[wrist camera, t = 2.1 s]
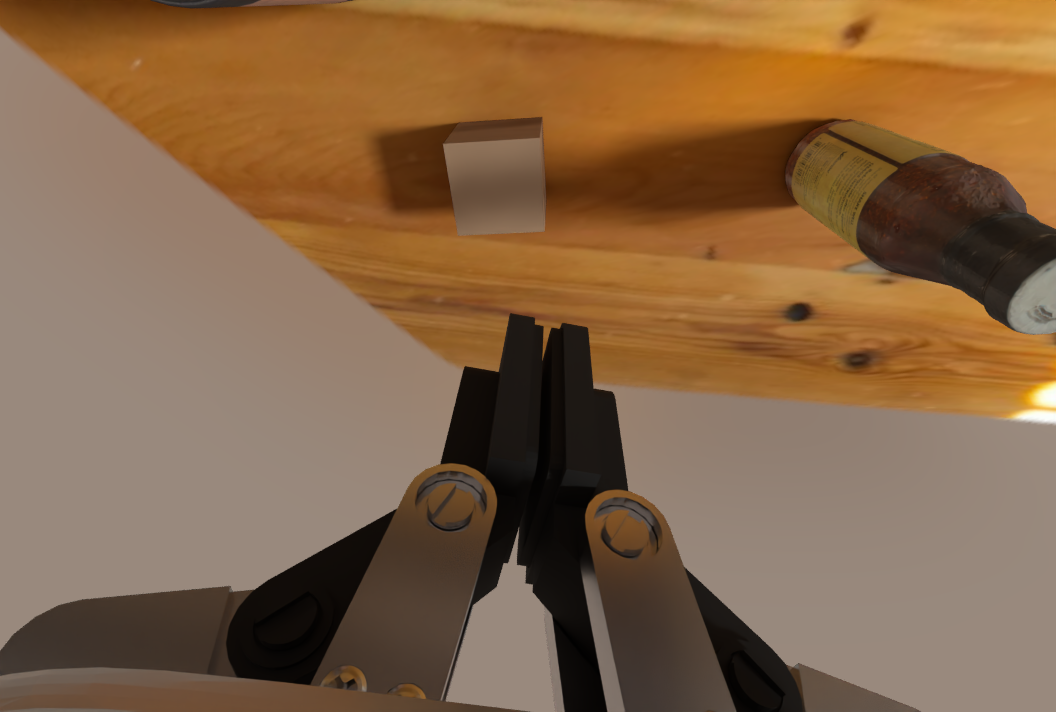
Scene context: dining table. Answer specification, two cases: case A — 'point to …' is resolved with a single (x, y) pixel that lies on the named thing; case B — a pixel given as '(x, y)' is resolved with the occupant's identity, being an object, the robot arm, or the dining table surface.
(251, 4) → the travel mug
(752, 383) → the dining table surface
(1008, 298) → the sauce bottle
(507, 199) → the grey cube
